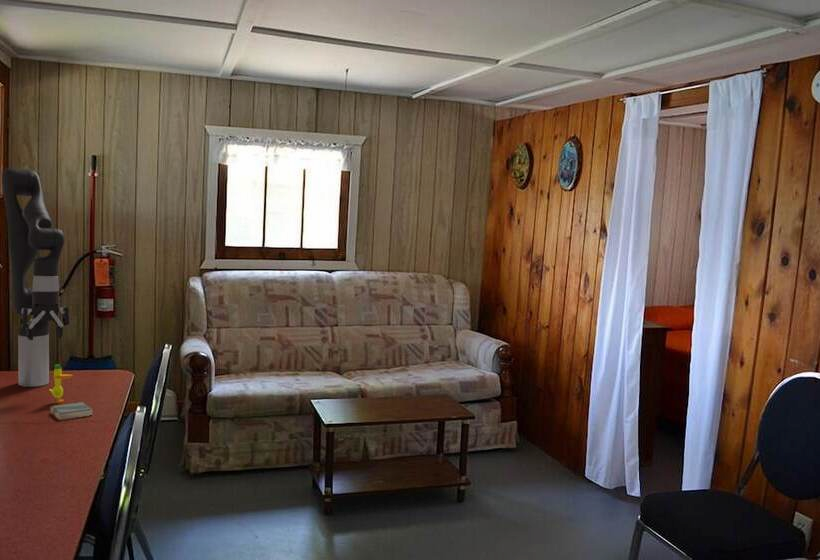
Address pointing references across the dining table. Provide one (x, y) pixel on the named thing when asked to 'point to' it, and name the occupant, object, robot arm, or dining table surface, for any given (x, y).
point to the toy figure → (58, 382)
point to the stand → (71, 411)
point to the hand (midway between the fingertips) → (44, 339)
